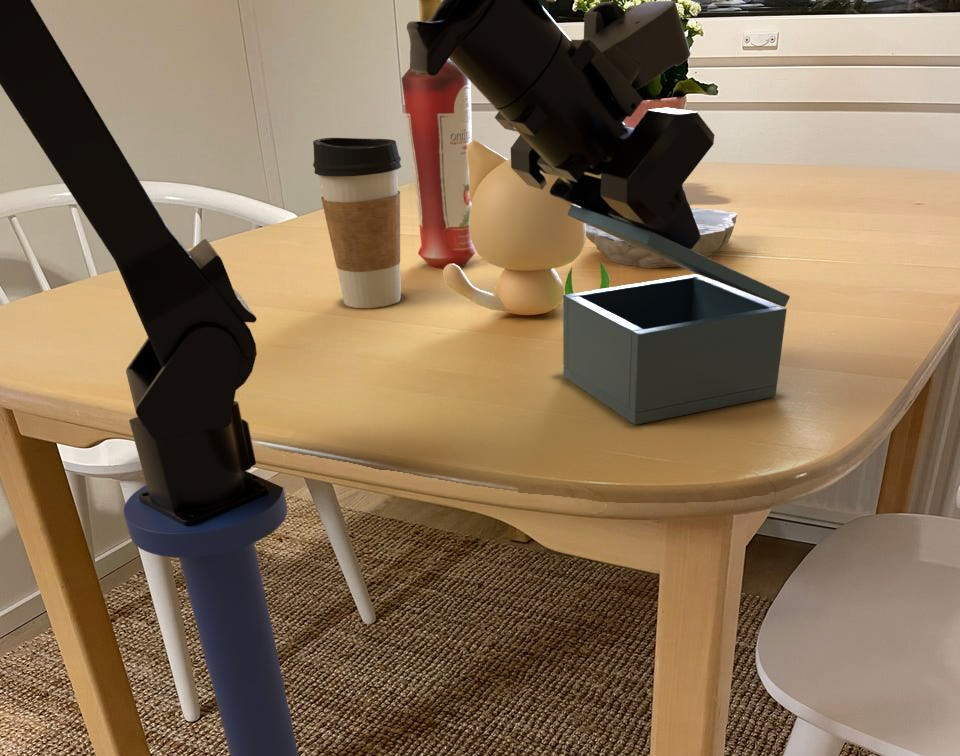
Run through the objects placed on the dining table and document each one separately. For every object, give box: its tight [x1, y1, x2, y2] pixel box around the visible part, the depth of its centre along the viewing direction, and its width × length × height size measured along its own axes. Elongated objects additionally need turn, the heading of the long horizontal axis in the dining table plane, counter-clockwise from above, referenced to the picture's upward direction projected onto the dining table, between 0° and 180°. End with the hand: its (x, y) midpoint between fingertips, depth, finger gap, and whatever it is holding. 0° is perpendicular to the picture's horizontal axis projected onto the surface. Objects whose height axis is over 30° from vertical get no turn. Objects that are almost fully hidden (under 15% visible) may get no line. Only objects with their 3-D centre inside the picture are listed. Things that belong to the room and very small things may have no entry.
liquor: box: [401, 0, 477, 269], centre depth 103 cm, size 7×7×28 cm
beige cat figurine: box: [442, 139, 611, 316], centre depth 88 cm, size 15×10×15 cm, turn 64°
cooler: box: [562, 273, 787, 426], centre depth 72 cm, size 12×12×6 cm
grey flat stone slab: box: [586, 207, 738, 269], centre depth 110 cm, size 20×17×3 cm
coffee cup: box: [312, 137, 402, 309], centre depth 94 cm, size 8×8×15 cm
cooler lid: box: [568, 204, 791, 308], centre depth 67 cm, size 13×12×4 cm
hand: (674, 236), depth 67 cm, fingers open, 5 cm apart
